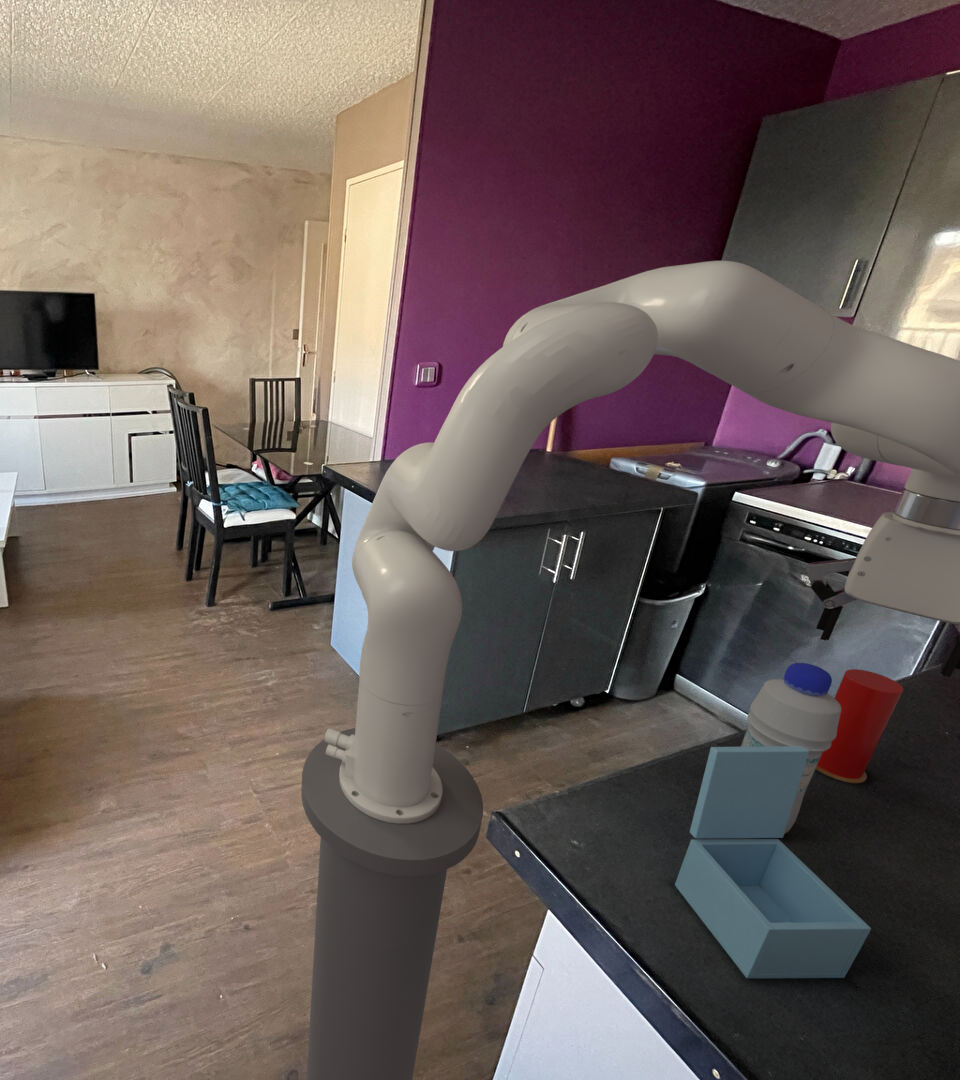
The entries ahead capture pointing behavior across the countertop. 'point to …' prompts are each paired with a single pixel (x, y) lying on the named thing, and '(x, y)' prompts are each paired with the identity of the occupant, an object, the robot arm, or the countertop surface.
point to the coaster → (842, 777)
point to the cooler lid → (748, 791)
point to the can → (860, 721)
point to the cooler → (770, 909)
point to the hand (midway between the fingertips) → (882, 653)
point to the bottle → (795, 719)
